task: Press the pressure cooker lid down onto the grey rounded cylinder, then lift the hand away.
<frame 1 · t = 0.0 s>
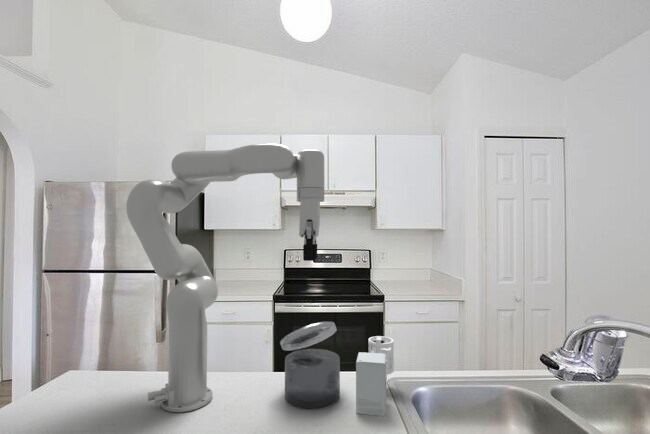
hand: (310, 259, 91), 37 cm above the countertop, tool pointing down, fingers open, 9 cm apart
supplement box: (371, 408, 86), on the countertop
grey rounded cylinder: (312, 395, 92), on the countertop
pressure cooker lid: (307, 332, 95), point 16 cm above the countertop, hinge at 35.0°
white cylindrical piece: (381, 390, 96), on the countertop
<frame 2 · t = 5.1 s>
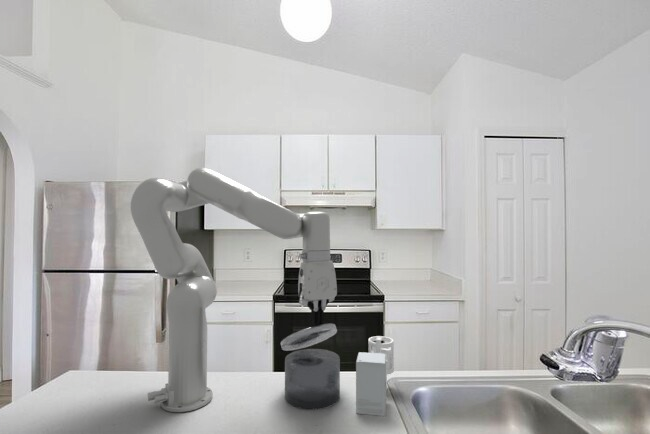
hand: (317, 324, 92), 19 cm above the countertop, tool pointing down, fingers closed
pressure cooker lid: (308, 333, 95), point 16 cm above the countertop, hinge at 32.7°, touching gripper
everything else where it was.
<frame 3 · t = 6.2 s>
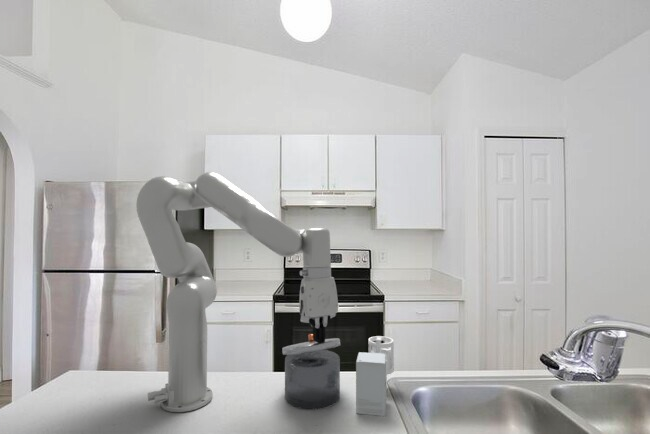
hand: (319, 341, 92), 15 cm above the countertop, tool pointing down, fingers closed
pressure cooker lid: (310, 342, 94), point 14 cm above the countertop, hinge at 15.4°, touching gripper
everything else where it was.
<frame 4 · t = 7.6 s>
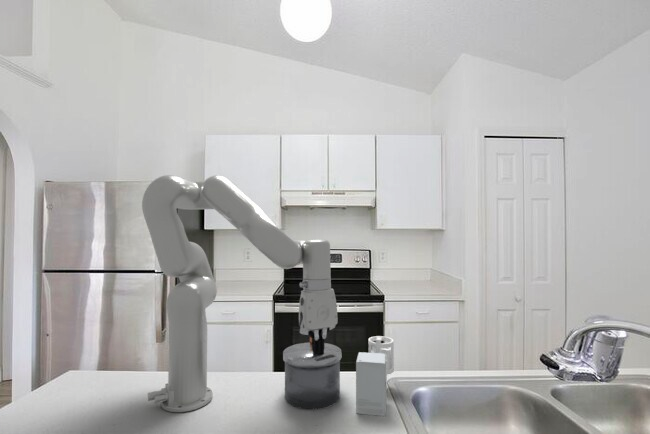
hand: (318, 353, 91), 12 cm above the countertop, tool pointing down, fingers closed
pressure cooker lid: (312, 350, 93), point 12 cm above the countertop, hinge at 0.9°, touching gripper
everything else where it was.
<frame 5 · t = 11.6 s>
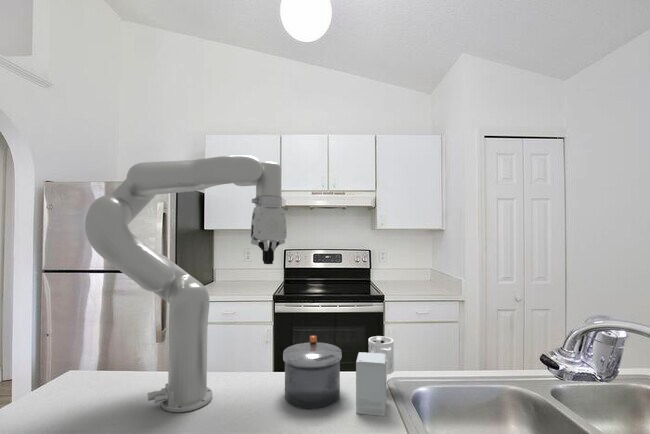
hand: (268, 263, 102), 35 cm above the countertop, tool pointing down, fingers closed
pressure cooker lid: (312, 350, 93), point 12 cm above the countertop, hinge at 0.5°
everything else where it was.
at the end: pressure cooker lid at +0° (first picture: +35°) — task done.
